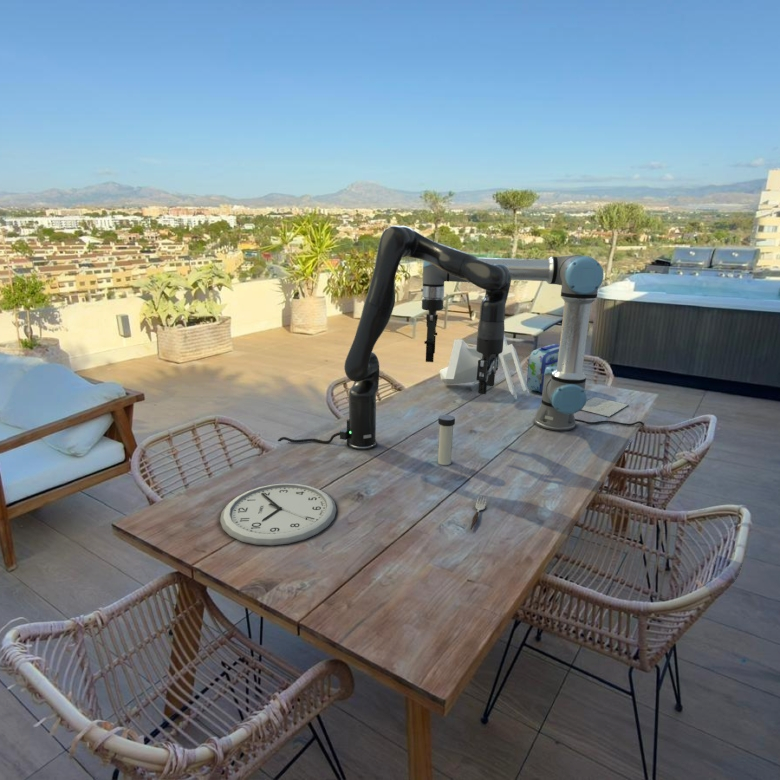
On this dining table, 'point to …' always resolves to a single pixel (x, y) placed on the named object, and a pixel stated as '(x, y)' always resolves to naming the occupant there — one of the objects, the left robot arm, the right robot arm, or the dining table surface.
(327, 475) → the dining table surface
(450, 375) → the white plastic object
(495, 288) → the left robot arm
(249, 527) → the wall clock
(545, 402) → the right robot arm
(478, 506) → the fork
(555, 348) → the lunch box
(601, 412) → the invitation card
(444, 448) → the jar
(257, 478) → the dining table surface
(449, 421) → the lid
